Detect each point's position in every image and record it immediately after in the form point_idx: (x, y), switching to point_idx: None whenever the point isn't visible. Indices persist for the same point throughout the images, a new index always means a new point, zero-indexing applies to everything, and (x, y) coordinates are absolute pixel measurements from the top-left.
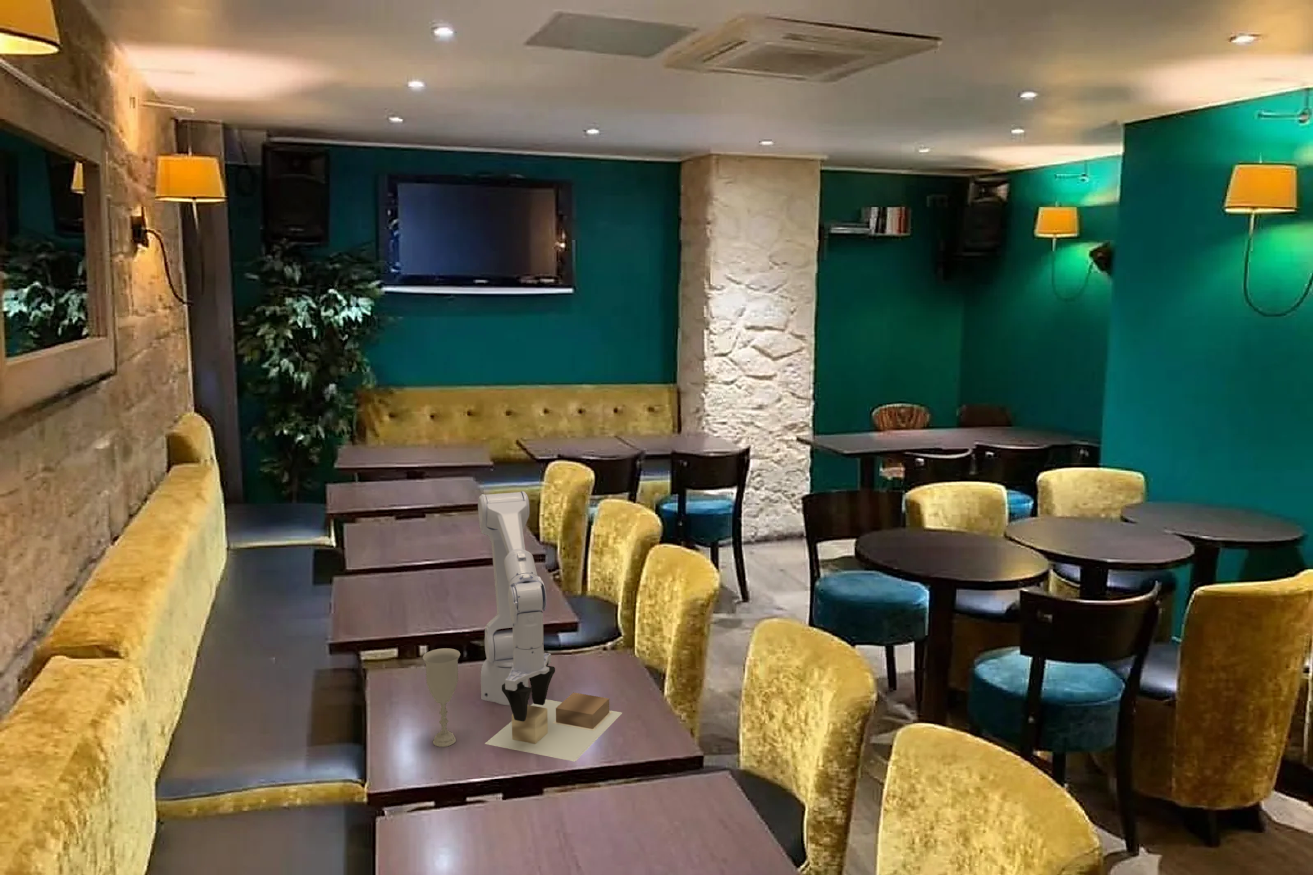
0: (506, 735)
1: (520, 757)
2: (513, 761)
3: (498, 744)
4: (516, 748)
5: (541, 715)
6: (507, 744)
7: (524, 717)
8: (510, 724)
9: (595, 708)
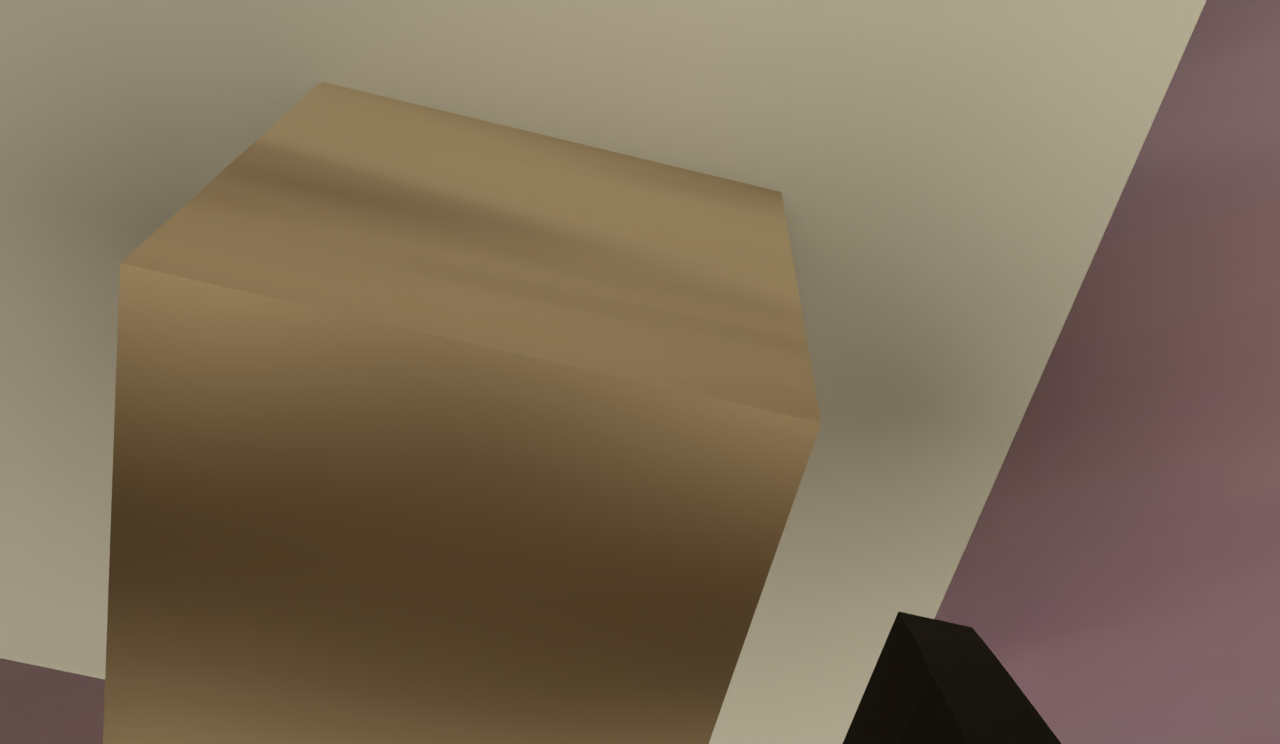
0: None
1: (1103, 319)
2: (1229, 385)
3: (850, 686)
4: (960, 441)
5: (476, 318)
6: (841, 583)
7: (1012, 688)
8: None
9: None
